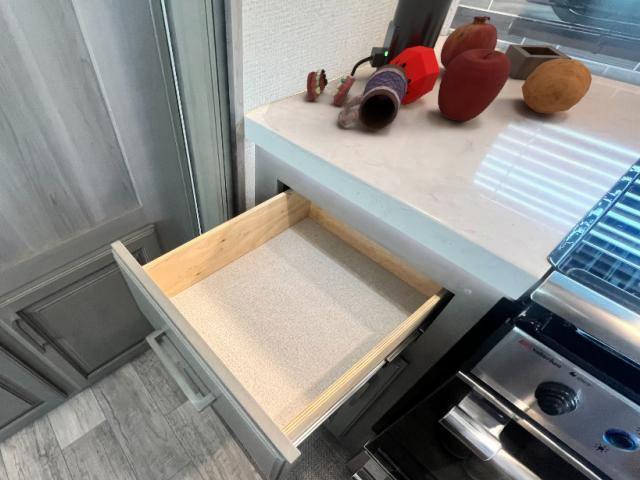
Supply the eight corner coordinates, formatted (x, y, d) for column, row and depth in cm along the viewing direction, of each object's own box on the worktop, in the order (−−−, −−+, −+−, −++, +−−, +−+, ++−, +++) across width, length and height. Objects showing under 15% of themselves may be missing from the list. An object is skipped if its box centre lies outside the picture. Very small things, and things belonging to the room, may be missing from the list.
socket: (513, 78, 70) (526, 56, 67) (498, 65, 76) (509, 44, 72) (556, 80, 70) (571, 58, 66) (538, 66, 75) (551, 45, 72)
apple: (416, 115, 59) (443, 48, 51) (445, 101, 62) (474, 37, 55) (465, 134, 54) (503, 63, 46) (493, 118, 58) (533, 50, 50)
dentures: (353, 77, 57) (305, 71, 60) (346, 107, 61) (301, 100, 64) (360, 69, 61) (314, 64, 64) (353, 97, 65) (310, 91, 67)
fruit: (457, 86, 68) (485, 25, 60) (422, 71, 73) (444, 13, 65) (492, 78, 71) (524, 18, 63) (456, 64, 76) (481, 8, 68)
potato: (568, 104, 62) (602, 58, 56) (570, 128, 56) (608, 78, 50) (514, 95, 65) (541, 49, 59) (510, 116, 59) (540, 68, 53)
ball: (374, 71, 62) (409, 41, 55) (400, 64, 65) (437, 35, 58) (387, 112, 63) (423, 88, 56) (412, 104, 66) (450, 80, 59)
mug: (408, 56, 55) (400, 83, 48) (408, 101, 59) (401, 130, 53) (347, 74, 60) (332, 100, 53) (351, 114, 65) (338, 142, 58)
